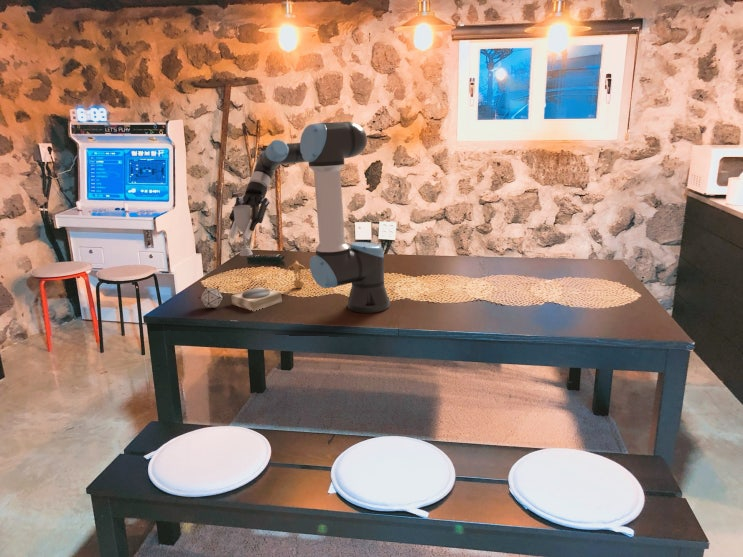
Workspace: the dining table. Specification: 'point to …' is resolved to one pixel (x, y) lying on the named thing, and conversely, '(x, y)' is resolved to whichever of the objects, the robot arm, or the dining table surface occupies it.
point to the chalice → (243, 224)
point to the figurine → (298, 282)
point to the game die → (211, 297)
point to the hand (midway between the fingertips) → (238, 237)
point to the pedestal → (256, 298)
